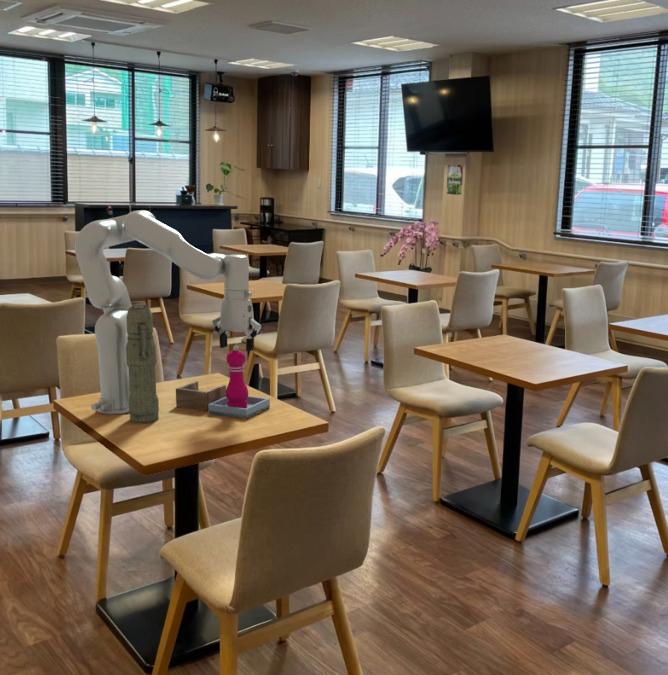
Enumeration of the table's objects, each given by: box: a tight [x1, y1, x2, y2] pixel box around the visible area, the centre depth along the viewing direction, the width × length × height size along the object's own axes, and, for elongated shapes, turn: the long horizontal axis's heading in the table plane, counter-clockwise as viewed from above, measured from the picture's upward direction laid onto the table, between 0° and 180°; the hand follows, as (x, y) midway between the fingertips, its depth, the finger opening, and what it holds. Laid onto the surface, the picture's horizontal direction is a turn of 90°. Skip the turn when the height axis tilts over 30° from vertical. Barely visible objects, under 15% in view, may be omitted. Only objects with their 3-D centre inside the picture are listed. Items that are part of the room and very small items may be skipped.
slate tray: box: [208, 395, 271, 420], centre depth 256 cm, size 14×14×3 cm
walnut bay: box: [175, 380, 227, 412], centre depth 262 cm, size 11×12×6 cm
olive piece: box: [126, 304, 160, 425], centre depth 243 cm, size 9×12×35 cm
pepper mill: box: [225, 345, 249, 408], centre depth 254 cm, size 7×7×20 cm
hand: (236, 349), depth 252 cm, fingers open, 9 cm apart
